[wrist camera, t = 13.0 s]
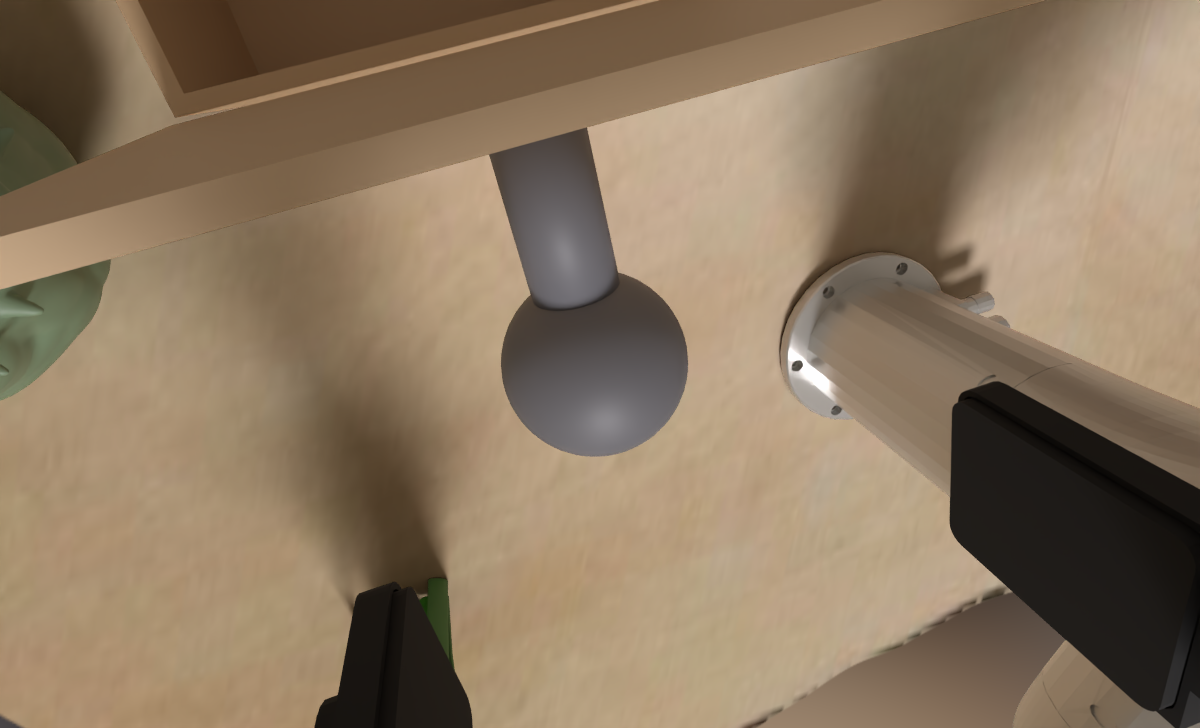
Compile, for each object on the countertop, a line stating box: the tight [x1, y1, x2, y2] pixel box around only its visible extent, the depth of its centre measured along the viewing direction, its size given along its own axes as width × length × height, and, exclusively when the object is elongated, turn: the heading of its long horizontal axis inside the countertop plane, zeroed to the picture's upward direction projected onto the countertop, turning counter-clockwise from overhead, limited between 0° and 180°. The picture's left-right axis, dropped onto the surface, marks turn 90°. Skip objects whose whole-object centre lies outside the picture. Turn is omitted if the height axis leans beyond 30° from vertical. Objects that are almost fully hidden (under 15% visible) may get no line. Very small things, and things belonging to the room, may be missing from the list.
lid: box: [0, 0, 1046, 456], centre depth 17 cm, size 20×16×8 cm
